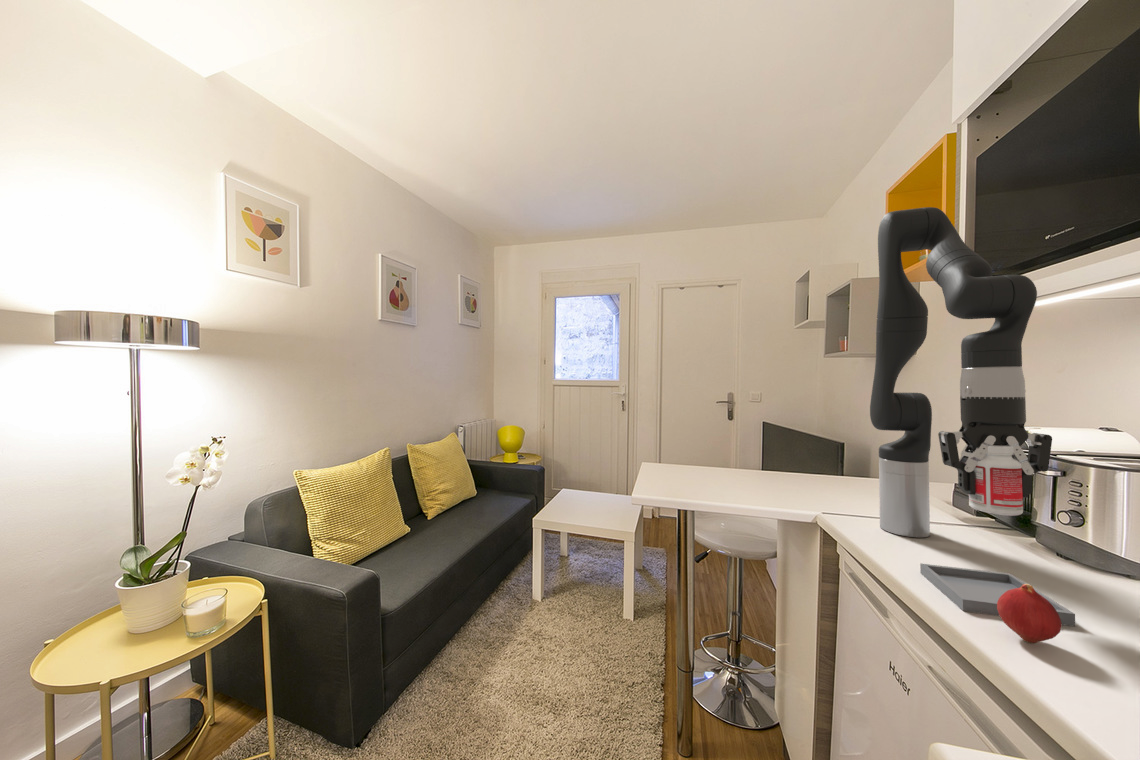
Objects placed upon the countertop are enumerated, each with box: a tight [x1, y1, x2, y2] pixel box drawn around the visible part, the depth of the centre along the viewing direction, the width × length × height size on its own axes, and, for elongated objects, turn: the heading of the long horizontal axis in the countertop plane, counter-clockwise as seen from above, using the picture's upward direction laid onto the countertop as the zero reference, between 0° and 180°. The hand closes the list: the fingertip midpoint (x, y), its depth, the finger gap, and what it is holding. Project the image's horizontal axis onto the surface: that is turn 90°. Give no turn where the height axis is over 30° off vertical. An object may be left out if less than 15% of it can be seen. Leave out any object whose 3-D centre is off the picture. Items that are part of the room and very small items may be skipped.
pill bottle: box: [968, 445, 1024, 517], centre depth 66 cm, size 6×6×11 cm
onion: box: [997, 583, 1063, 644], centre depth 55 cm, size 6×6×8 cm
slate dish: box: [919, 562, 1076, 627], centre depth 66 cm, size 13×13×2 cm
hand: (994, 494), depth 66 cm, fingers closed on pill bottle, 6 cm apart
